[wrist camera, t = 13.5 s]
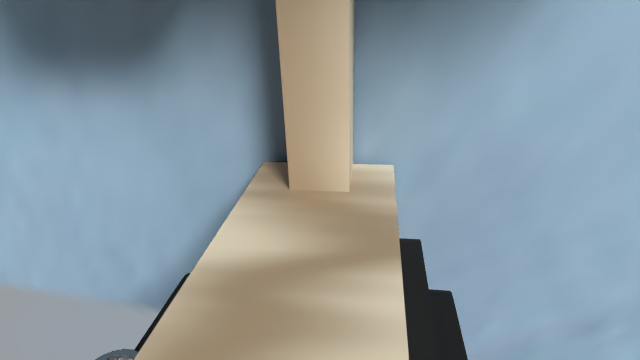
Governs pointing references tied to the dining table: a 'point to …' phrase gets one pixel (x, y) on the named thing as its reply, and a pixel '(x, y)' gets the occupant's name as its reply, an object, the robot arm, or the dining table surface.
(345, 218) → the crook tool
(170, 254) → the dining table surface
